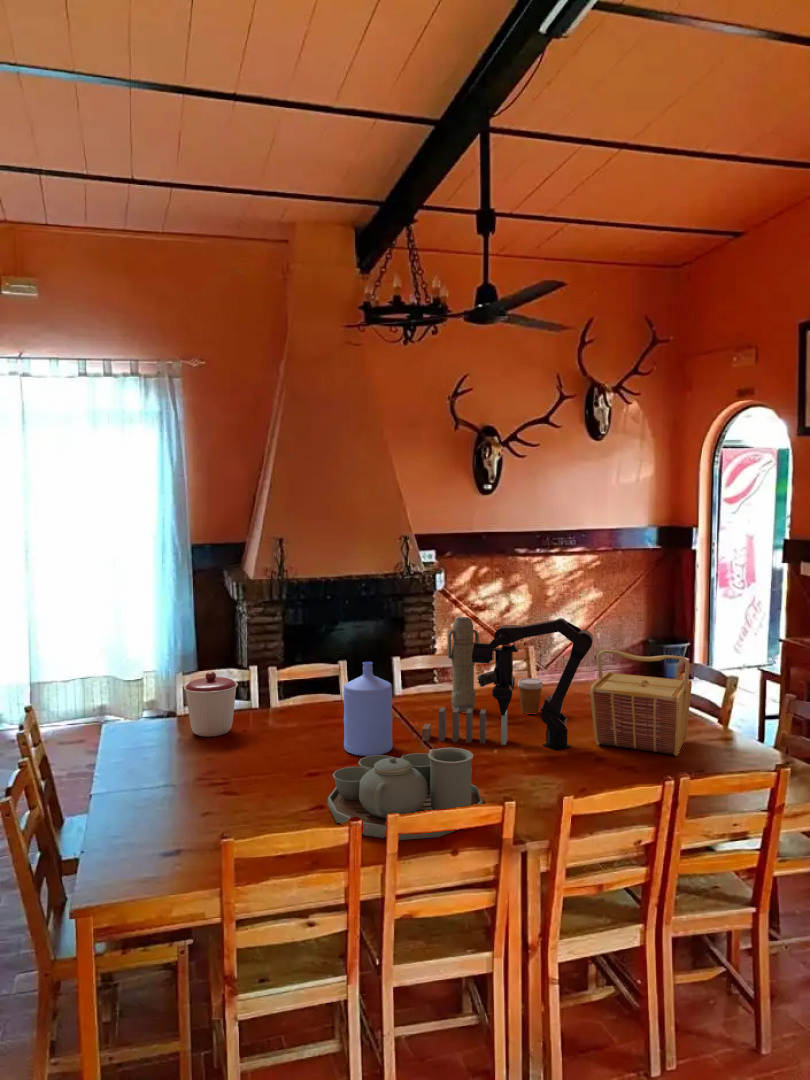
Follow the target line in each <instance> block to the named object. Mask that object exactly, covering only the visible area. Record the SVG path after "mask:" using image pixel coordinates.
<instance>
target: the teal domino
mask: <svg viewBox="0 0 810 1080" xmlns="http://www.w3.org/2000/svg"><path fill="white" fill-rule="evenodd" d="M500 715H501V714H500ZM500 717H501V719H500V721H501V724H500V725H501V726H500V727H501V729H500V731H501V732H500V733H501V735H500V743H501V745H502V746H505V745H506V746H507V744H506V743H508V710H507V711H506V713H505V715H504V716H502V715H501V716H500Z"/></svg>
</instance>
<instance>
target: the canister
mask: <svg viewBox="0 0 810 1080" xmlns="http://www.w3.org/2000/svg"><path fill="white" fill-rule="evenodd" d="M204 676H205V677H203V678H197V679H193V680H191V681H189V682H188V683H186V684H185V685H183V690H184V691H185V695H186V703H187V709H188V710H187V711H188V717H189V723H190V728H191V730H192V732H193V734H195V735H197V736H199V737H207V738H210V737H211V736H212V737H218V736H222V735H224V734H227V733H228V732H230V731H231V730H232V727H233V721H234V714H235V713H234V712H235V702H236V694H237V693H236V691H237V688H238V686H239V683H238V682H237V681H235V680H234V679H232V678H228V677H221V676H220V677H218V676H217V675H216V673H215V672H214V671H208V672H206V674H205V675H204Z"/></svg>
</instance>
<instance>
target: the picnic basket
mask: <svg viewBox="0 0 810 1080" xmlns="http://www.w3.org/2000/svg"><path fill="white" fill-rule="evenodd" d="M604 654H614V655H619V656H621V657H623V658H625V659H629V660H633V661H636V662H637V661H639V662H660V661H662V660H666V659H672V660H681V661H682V662H683V663H684V665H685V667H684V674H683V675H684V678H683V679H676V678H667V677H659V676H658V677H657V676H645V675H635V674H625V673H619V672H617V673H615V672H611V671H607V672H606V673H604V674H603V667H602V656H603V655H604ZM596 659H597V660H596V661H597V673H598V674H597V675H598V676H597V677H598V679H597V680H596V681H595V682H593V683H592V685H591V686H590V692H589V693H590V694H589V696H590V703H591V714H592V722H593V723H592V726H593V732H594V741H595V743H596V745H598V746H599V745H600V744H601V745H605V746H612V747H617V748H618V747H619V748H625V749H633V750H640V751H646V752H654V753H661V754H668V755H674V757H678V756H679V754H680V752H681V751H680V748H681V745H682V743H683V742H685V743H686V739H687V735H688V723H689V716H690V705H691V696H692V687H693V685H692V684H693V683H692V680H691V679H690V678H689V677H690V668H691V667H690V666H691V665H690V662H689V660H688V659H686V657H684V656H678V655H669V654H667V655H666V654H665V655H664V654H663V655H654V656H642V655H636V654H635V655H634V654H631V653H628V652H624V651H620V650H612V649H603V650H600V651H599V652H598V653H597V655H596ZM679 751H680V752H679ZM678 753H679V754H678ZM677 755H678V756H677Z"/></svg>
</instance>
